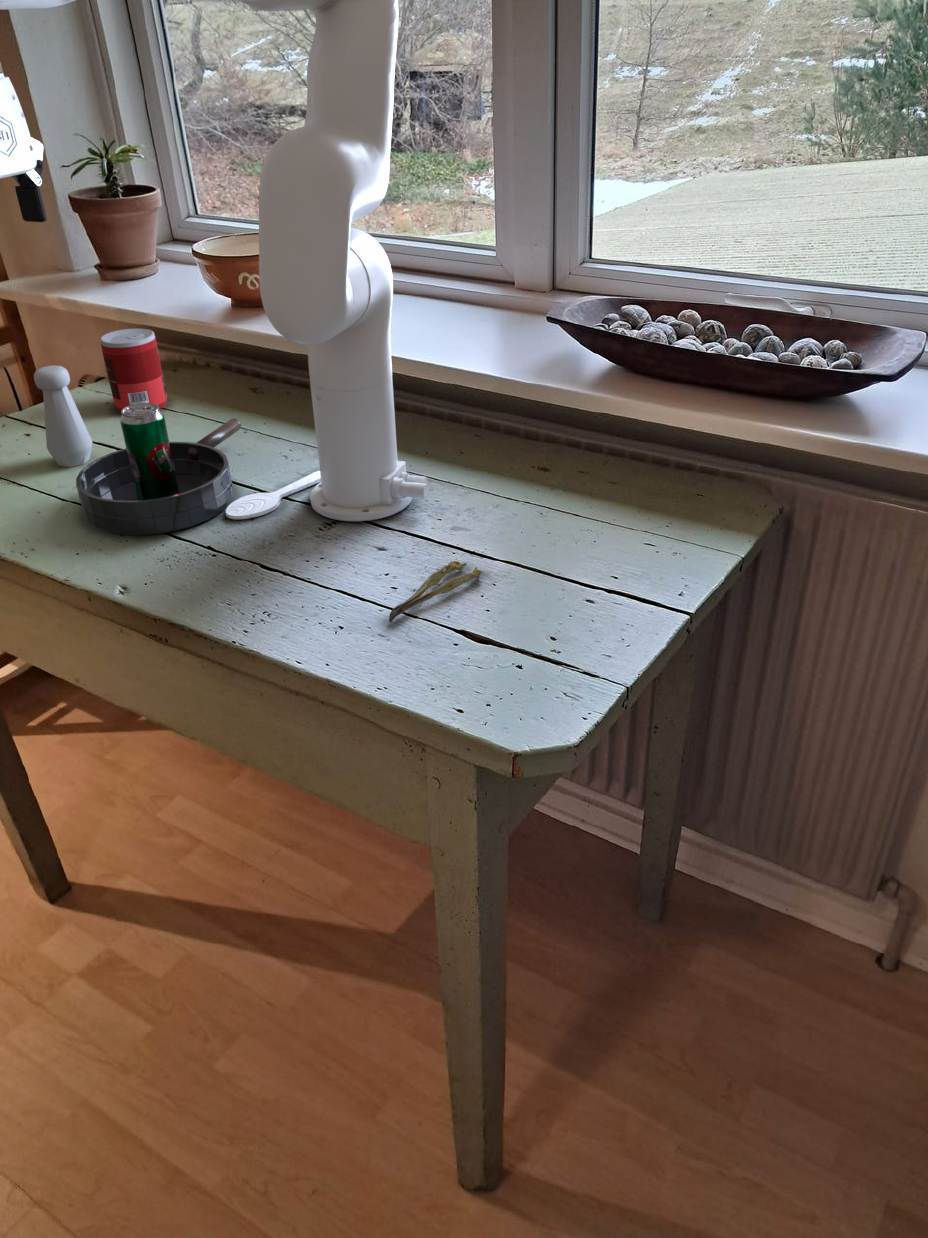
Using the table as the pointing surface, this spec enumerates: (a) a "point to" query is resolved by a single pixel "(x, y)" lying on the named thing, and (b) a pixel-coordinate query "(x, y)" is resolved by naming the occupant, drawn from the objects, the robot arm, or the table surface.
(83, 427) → the salt shaker
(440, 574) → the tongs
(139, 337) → the canned food
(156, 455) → the soda can
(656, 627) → the table surface
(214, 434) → the pan handle
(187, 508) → the pan
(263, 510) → the spoon
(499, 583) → the table surface
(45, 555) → the table surface
